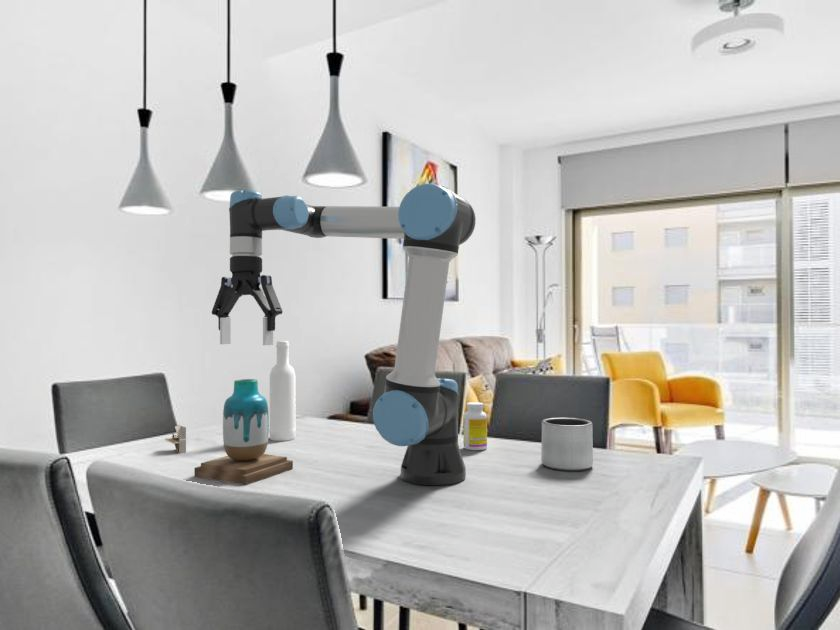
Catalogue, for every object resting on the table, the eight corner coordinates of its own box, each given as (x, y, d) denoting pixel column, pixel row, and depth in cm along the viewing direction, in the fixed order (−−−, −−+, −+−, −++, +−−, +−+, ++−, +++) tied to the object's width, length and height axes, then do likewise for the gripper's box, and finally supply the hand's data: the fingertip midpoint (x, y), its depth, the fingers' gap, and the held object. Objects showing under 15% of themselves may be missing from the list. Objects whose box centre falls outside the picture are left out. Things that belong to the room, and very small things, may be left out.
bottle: (287, 441, 180) (287, 341, 180) (264, 440, 182) (264, 341, 182) (300, 436, 188) (300, 340, 188) (277, 435, 190) (277, 340, 190)
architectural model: (173, 456, 164) (173, 428, 164) (164, 451, 169) (164, 425, 169) (186, 454, 166) (186, 427, 166) (177, 450, 171) (177, 424, 171)
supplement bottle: (491, 449, 170) (491, 403, 170) (473, 452, 166) (473, 405, 166) (476, 445, 175) (476, 401, 175) (458, 447, 171) (458, 402, 171)
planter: (570, 458, 159) (570, 415, 159) (604, 468, 148) (603, 423, 148) (531, 463, 153) (531, 419, 154) (563, 474, 142) (562, 427, 142)
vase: (255, 466, 138) (254, 382, 138) (213, 463, 140) (213, 381, 141) (276, 456, 148) (276, 378, 148) (237, 453, 151) (237, 377, 151)
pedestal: (292, 468, 148) (292, 456, 148) (245, 485, 133) (245, 471, 133) (243, 461, 155) (243, 450, 155) (194, 476, 141) (194, 463, 141)
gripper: (297, 255, 142) (297, 344, 142) (219, 260, 154) (219, 343, 154) (276, 252, 136) (276, 346, 136) (196, 257, 147) (196, 344, 147)
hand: (246, 344), depth 145 cm, fingers open, 13 cm apart
